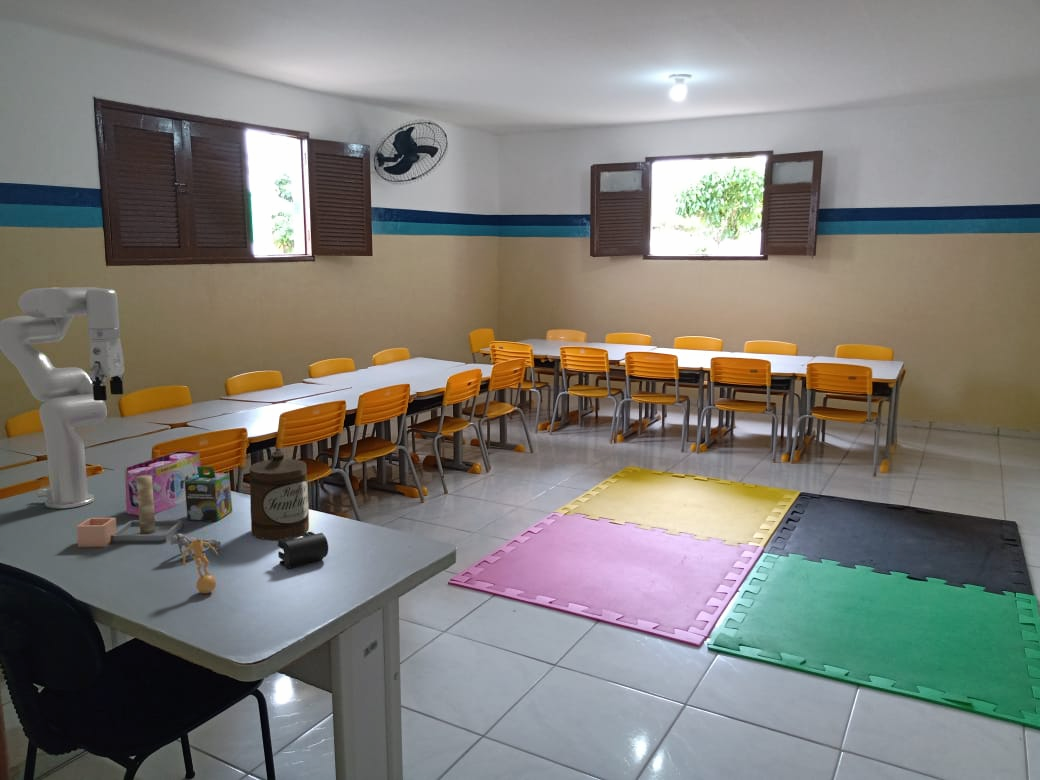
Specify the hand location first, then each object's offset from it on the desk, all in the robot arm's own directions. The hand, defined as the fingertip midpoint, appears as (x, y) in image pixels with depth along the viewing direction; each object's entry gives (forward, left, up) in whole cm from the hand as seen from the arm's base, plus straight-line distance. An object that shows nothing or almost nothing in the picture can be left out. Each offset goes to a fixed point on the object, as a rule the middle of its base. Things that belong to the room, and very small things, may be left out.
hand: (108, 397), depth 213 cm
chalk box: (+25, +1, -35) cm, 43 cm away
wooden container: (+48, -12, -35) cm, 60 cm away
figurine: (+41, -51, -34) cm, 74 cm away
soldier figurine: (+32, -29, -35) cm, 55 cm away
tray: (+14, -14, -34) cm, 40 cm away
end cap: (+59, -35, -35) cm, 77 cm away
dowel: (+14, -14, -34) cm, 39 cm away
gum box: (+8, +12, -35) cm, 38 cm away
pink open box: (+4, -20, -34) cm, 40 cm away
